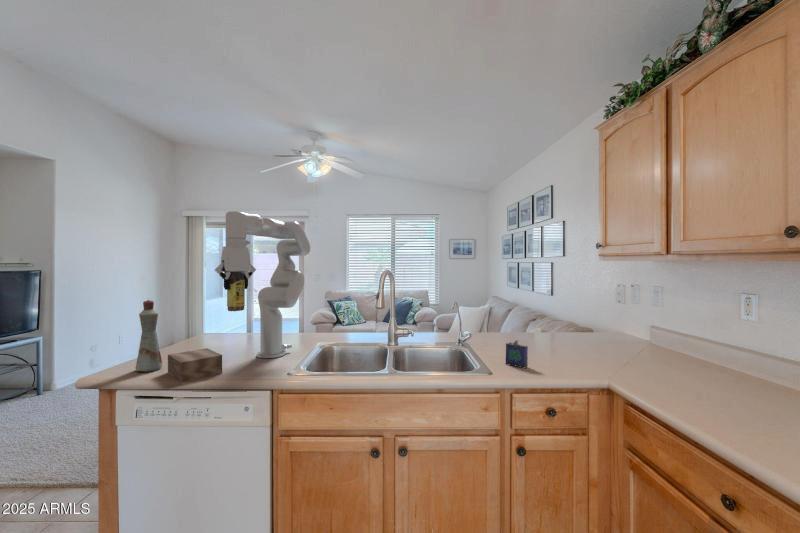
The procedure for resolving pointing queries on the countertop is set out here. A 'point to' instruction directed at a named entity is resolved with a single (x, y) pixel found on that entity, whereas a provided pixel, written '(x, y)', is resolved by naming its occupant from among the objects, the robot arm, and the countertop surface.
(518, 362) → the flask
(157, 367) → the bottle
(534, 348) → the countertop surface
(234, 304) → the sauce bottle
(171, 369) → the walnut block
